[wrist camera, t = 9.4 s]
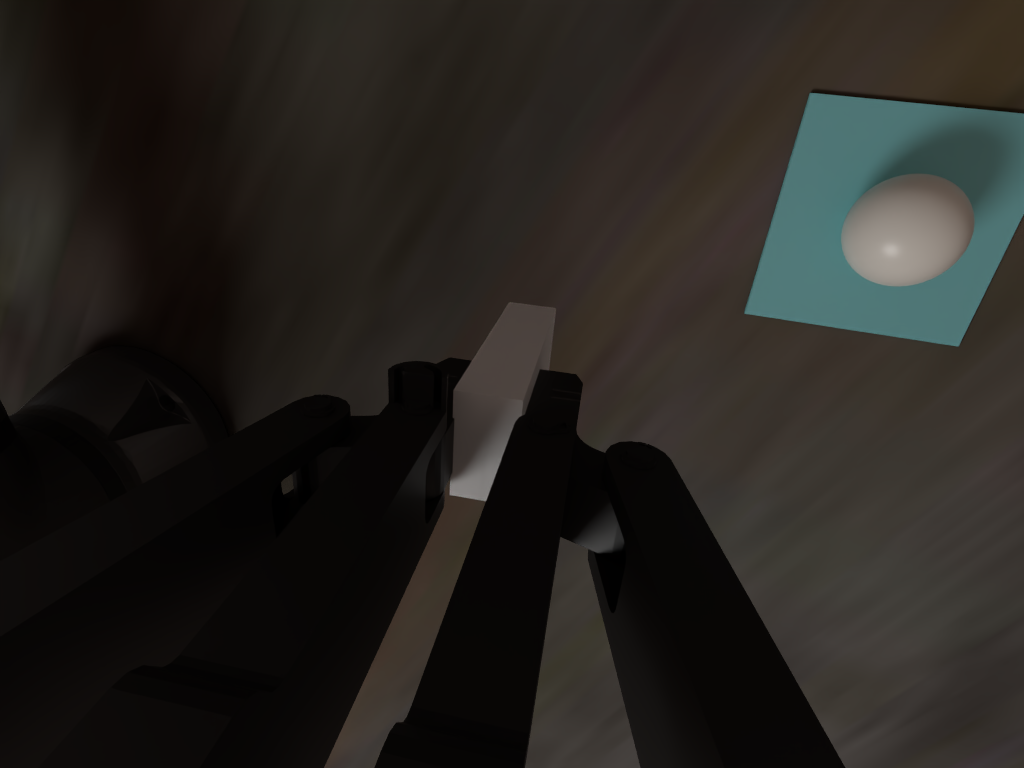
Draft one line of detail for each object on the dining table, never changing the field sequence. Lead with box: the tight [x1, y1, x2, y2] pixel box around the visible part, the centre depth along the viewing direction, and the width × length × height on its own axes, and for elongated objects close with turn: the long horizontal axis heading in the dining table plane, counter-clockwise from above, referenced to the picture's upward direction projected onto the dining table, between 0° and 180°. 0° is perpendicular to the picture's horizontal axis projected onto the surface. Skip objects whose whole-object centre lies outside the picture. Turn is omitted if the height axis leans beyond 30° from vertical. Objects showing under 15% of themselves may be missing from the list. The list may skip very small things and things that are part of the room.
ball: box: [841, 173, 975, 286], centre depth 28 cm, size 6×6×6 cm
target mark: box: [744, 93, 1024, 346], centre depth 30 cm, size 12×12×1 cm
